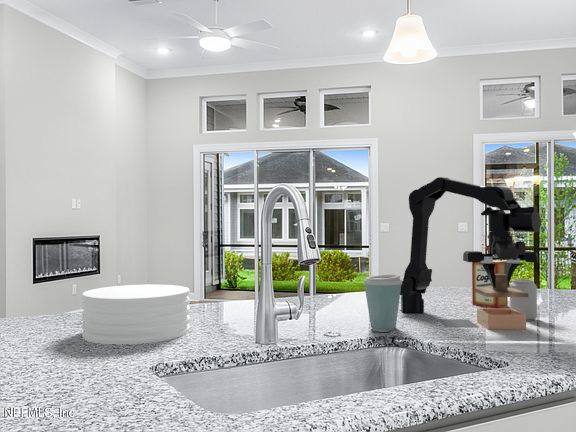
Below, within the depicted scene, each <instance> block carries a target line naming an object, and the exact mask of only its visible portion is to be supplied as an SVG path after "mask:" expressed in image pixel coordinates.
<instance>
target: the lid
mask: <svg viewBox="0 0 576 432" xmlns="http://www.w3.org/2000/svg"><path fill="white" fill-rule="evenodd" d="M474 291H475V292H477V293H479V294H481V295H483V296H485V297H508V298H510V297H528V293H526V292H523V291H520V290H517V289H514V288H510V287H509V285H508V280H507V275H506V274H495V288H474Z"/></svg>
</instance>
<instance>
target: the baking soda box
mask: <svg viewBox="0 0 576 432" xmlns="http://www.w3.org/2000/svg"><path fill="white" fill-rule="evenodd" d="M504 262H507V260H493V263H494V264H495V268H494V272H495V274H504ZM471 264H472V265H471V271H472V272H471V275H472V277H471V278H472V279H471V280H472V281H471V285H472V289H471V291H472V292H471V293H472V294H471V295H472V296H471V297H472V306H481V307H485V306H486V307H485V308H491V309H502V308H506V307H508V306H509V304H508V303H509V302H508V298H509V297H485V296H483V295H481V294H479V293H477V292H475V291H474V288H493V287H492V285H491V282H490V280H489V277H488V275H487V273H486V271H485V269H484V267H483V265H481V264H479V263H478V262H471Z"/></svg>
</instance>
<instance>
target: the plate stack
mask: <svg viewBox="0 0 576 432" xmlns="http://www.w3.org/2000/svg"><path fill="white" fill-rule="evenodd" d="M190 290H191V289H190V288H189V287H187V286H184V285H183V286H182V285H176V284H175V285H174V284H159V283H158V284H156V283H155V284H154V283H153V284H152V283H149V284H147V283H146V284H126V285H125V284H123V285H113V286H106V287H99V288H93V289H89V290H86V291H83V292H82V294H81V299H82V300H83V302H82V303H81V306H82V307H81V309H82V310H83V312H82V313H81V319H82V320H83V321H82V322H81V323H82V324H81V328H82V332H81V334H82V336H81V337H83V338H82V339H83V340H84V339H85V340H84V341H86V340H87V341H86V342H89V343H92V342H93V344H98V343H100V345H110V344H111V346H113V345H112V344H116V345H115V346H118V345H119V346H121V345H122V344H123V345H124V344H130V345H143V343H144V344H151V343H152V344H153V343H159V342H160V343H161V342H165V341H170V340H174V339H177V337H178V338H181V337H183V336H185V335H187V334H188V333H189V332H190V331H189V330H191V329H190V328H191V325H190V324H189V323H191V322H190V320H191V317H190V315H189V314H190V312H191V311H190V310H191V308H190V306H189V304H190V302H191V299H190V297H189V295H190V292H191V291H190ZM187 332H188V333H187ZM186 333H187V334H186ZM184 334H185V335H184ZM182 335H183V336H182ZM180 336H181V337H180ZM123 345H122V346H123ZM124 346H125V345H124Z"/></svg>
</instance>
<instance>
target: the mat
mask: <svg viewBox="0 0 576 432" xmlns="http://www.w3.org/2000/svg"><path fill="white" fill-rule="evenodd" d="M437 321H438V322H439V323H441V324H442V325H443V326H444V327H446V328H479V326H478V325H477V324H475V323H474V322H473V321H471V320H470V319H454V318H453V319H452V318H451V319H448V318H447V319H445V318H444V319H443V318H442V319H439V318H438V319H437Z"/></svg>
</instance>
